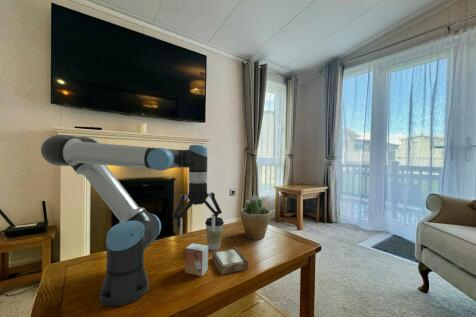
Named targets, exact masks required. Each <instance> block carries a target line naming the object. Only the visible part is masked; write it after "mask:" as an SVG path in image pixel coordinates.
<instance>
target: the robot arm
mask: <svg viewBox="0 0 476 317" xmlns="http://www.w3.org/2000/svg"><path fill="white" fill-rule="evenodd" d="M188 146H189V147H188V149H174V148H173V149H171V148H166V147H165V148H164V147H149V146H139V145H138V146H136V145H127V144H126V145H125V144H124V145H123V144H116V143H115V144H114V143H113V144H111V143H101V142H99V141H98V140H96V139H94V138H90V137H88V136H87V137H86V136H75V135H67V134H56V135H53V136H50V137H48V138H46V139H45V140H44V142H42V144H41V147H40V153H41V156H42V158H43V159H44V160H45V161H46V162H47V163H48V164H51V165H52V166H53V165H54V166H59V167H60V166H61V167H65V166H66V167H67V166H69V167H71V169H73V170H74V172H75V173H76V174H77V175H81V176H82V175H83V177H85V179H86V180H87V181H88V183H89V184H90V185H91V186H92V187H93V189H94V190H95V191H96V193H97V194H98V195H99V196H100V198H101V199H102V201H104V203H105V204H106V205H107V206H108V208H109V210H111V211H112V213H113V214H114V216H115V217H116V218H117V220H119V223H116V224H115V225H113V226H112V227H110V228H109V230H108V231H107V234H106V240H105V245H106V254H105V255H106V260H105V261H106V271H105V272H106V274H105V276H104V280H103V283H102V285H101V289H100V291H99V301H100V303H101V304H102V305H104V306H106V307H111V308H112V307H121V306H122V307H123V306H125V305H128V304H129V305H130V304H131V303H134V302H136V301H137V300H139V299H141V298H142V297H143V296H144V295H146V293H147V292H148V290H149V285H150V284H149V282H150V280H149V277H148V273H147V271H146V268H145V266H144V264H145V263H144V262H145V261H144V259H145V250H146V249H147V248H148V247H149V246H150V245H151V244H152V243H153V242H154V241H155V240H156V239H157V238H158V236H159V235H160V233H161V230H162V224H161V220H160V218H159V217H158V216H157V215H156V214H154V213H150V212H148V211H147V209H146V208H145V207H140V206H139V205H138V204H137V203H136V201H135V200H134V199H133V198H132V197H131V195H130V193H128V191H127V189H125V187H124V186H123V184H121V182H120V181H119V180H118V179H117V177H116V176H115V175H114V173H113V172H112V171H111V169H110V168H109V167H108V166H113V167H114V166H115V167H124V168H125V167H128V168H138V169H139V168H140V169H151V170H152V169H153V170H156V171H166V170H169V169H175V168H180V169H181V168H185V169H187V168H188V194H183V193H181V194H180V200H179V201H178V203H177V205H176V208H175V209H174V211H173V213H172V218H173V219H175V220H176V226H177V228H179V236H180V237H183V216H184V215H185V214H186V212H187V211H188V210H189V209H190V208H191V207H192V206H193V205H194V206H197V205H203V204H204V205H205V206H206V207H207V209H209V210H210V211H211V212H212V214H211V217H212V230H213V232H214V231H215V223H217V217H219V215H221V214H222V213H223V212H222V209H221V208H220V205H219V203H218V202H217V199H216V195H215V193H214V192H212V191H211V192H208V182H207V181H208V156H209V155H208V146H206V145H205V144H189V145H188ZM208 198H210V199H211V201H212V203H213V205H214V208H215V209H216V210H215V209H214V208H213V207H212V205H211V204H210V203H209V202H208V201H207V199H208ZM187 199H188V200H189V201H188V202H187V203H186V204H185V205H184V207H183V208H182V206H183V204H184V202H185V201H186V200H187ZM181 208H182V209H181ZM180 210H181V211H180Z"/></svg>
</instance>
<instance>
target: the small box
mask: <svg viewBox="0 0 476 317" xmlns="http://www.w3.org/2000/svg"><path fill="white" fill-rule="evenodd" d="M208 264H209V249H208V244H205V245H204V244H199V243H194V242H192V243H191V244H189V245H188V246H186V247H185V259H184V274H189V275H194V276H197V277H203V276H204V275H205V273H206V272H207V271H208V270H209V267H208V266H209V265H208Z"/></svg>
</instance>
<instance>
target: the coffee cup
mask: <svg viewBox="0 0 476 317" xmlns="http://www.w3.org/2000/svg"><path fill="white" fill-rule="evenodd" d="M224 223H225V222H224V221H223V218H222V217H219V216H217V223H215V231H214V232H213V230H212V216H210V217H208V218H206V220H205V223H204V224H205V228H206V229H205V230H206V231H205V233H206V240H207V246H208V251H218V250H220V248H221V244H222V242H221V241H222V237H223V226H224V225H225V224H224Z"/></svg>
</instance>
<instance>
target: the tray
mask: <svg viewBox="0 0 476 317" xmlns="http://www.w3.org/2000/svg"><path fill="white" fill-rule="evenodd" d="M211 257H212V258H211V259H212V261H213V262H214V265H215V266H216V268H217V270H218V271H219V273H220V274H221V275H226V274H230V273H235V272H242V271H246V270H249V260H248V258H247V257H246V256H245V255H244V254H243V253H242V252H241V251H240V250H239V248H237V246H234V247H233V249H232V248H231V249H225V250H219V251H218V250H217V251H214V252H212V256H211Z"/></svg>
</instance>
